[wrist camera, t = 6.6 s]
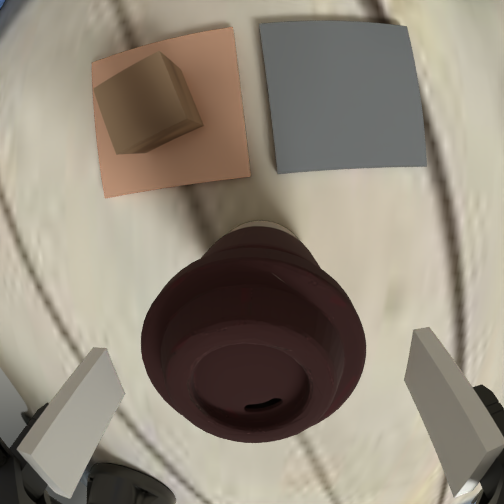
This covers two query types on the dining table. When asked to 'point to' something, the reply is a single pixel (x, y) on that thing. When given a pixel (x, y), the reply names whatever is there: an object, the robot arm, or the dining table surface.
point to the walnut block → (147, 105)
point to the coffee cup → (254, 338)
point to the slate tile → (342, 96)
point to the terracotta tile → (190, 144)
